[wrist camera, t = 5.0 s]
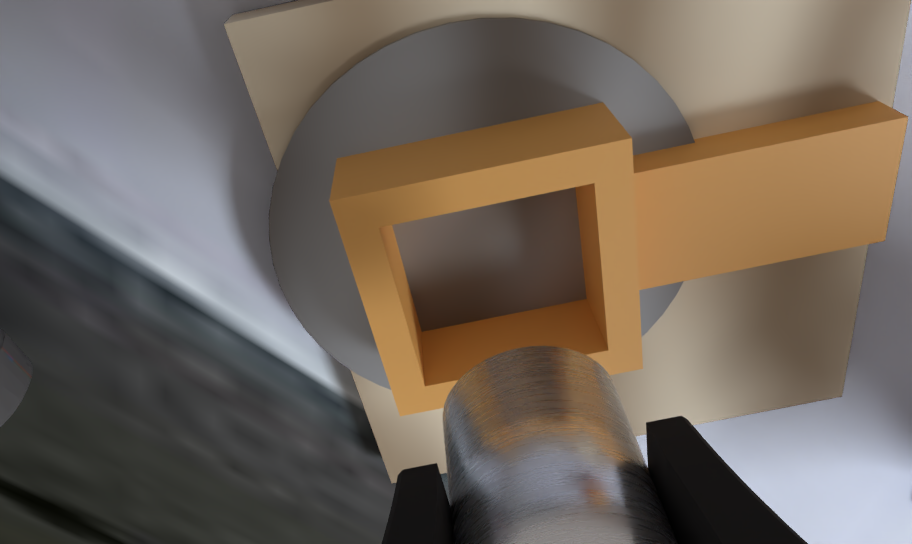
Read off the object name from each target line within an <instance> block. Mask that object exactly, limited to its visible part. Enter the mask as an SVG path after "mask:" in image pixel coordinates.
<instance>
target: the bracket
mask: <svg viewBox="0 0 912 544" xmlns="http://www.w3.org/2000/svg"><path fill="white" fill-rule="evenodd" d="M907 121H908V116H906V115H904V114H902V113H900V112H898V111H896V110H895V109H893V108H891V107H889V106H887V105H885V104H883V103H881V102H880V101H876V102H871V103H867V104H862V105H857V106H852V107H847V108H843V109H838V110H833V111H828V112H823V113H818V114H814V115H809V116H804V117H799V118H794V119H790V120H785V121H780V122H775V123H770V124H766V125H761V126H756V127H751V128H746V129H741V130H737V131H732V132H727V133H722V134H717V135H713V136H708V137H703V138H698V139H694V141H695V143H691V144H686V145H681V146H676V147H671V148H667V149H662V150H657V151H652V152H647V153H643V154H638V155H633V146H632V137H631V136H630V135H629V134H628V132H627V131H626V130H625V129H624V127H623V126H622V125H621V124H620V122H619V121H618V120H617V119H616V117H615V116H614V115H613V114H612V113H611V111H610V110H609V109H608V108H607V106H606V105H605V104H604V103H603V102H602V103H597V104H593V105H588V106H583V107H578V108H574V109H569V110H564V111H559V112H555V113H550V114H545V115H540V116H536V117H531V118H526V119H521V120H517V121H512V122H507V123H502V124H498V125H493V126H488V127H483V128H479V129H474V130H469V131H464V132H460V133H455V134H450V135H445V136H441V137H436V138H431V139H426V140H422V141H417V142H412V143H407V144H403V145H398V146H393V147H388V148H384V149H379V150H374V151H369V152H365V153H360V154H355V155H350V156H346V157H341V158H337V160H336V166H335V171H334V177H333V183H332V188H331V194H330V200H329V202H330V205H331V208H332V211H333V214H334V217H335V220H336V223H337V226H338V229H339V232H340V235H341V238H342V242H343V245H344V248H345V251H346V254H347V257H348V260H349V263H350V266H351V269H352V272H353V275H354V278H355V281H356V284H357V287H358V290H359V293H360V296H361V299H362V302H363V305H364V308H365V311H366V314H367V318H368V321H369V324H370V327H371V330H372V333H373V336H374V339H375V342H376V345H377V348H378V351H379V354H380V357H381V360H382V363H383V366H384V369H385V372H386V375H387V378H388V381H389V384H390V387H391V390H392V394H393V397H394V400H395V403H396V406H397V409H398V412H399V415H400V416H405V415H410V414H415V413H420V412H425V411H430V410H436V409H441V408H444V404H445V401H446V399H447V396H448V395H449V393H450V391H451V389H452V388H453V386H454V385H455V384H456V383H457V381H458V380H459V379H460V378H461V377H462V376H463V375H464V374H465V373H466V372H468V371H469V370H470V369H472V368H473V367H474V366H476V365H477V364H479V363H481V362H482V361H484V360H486V359H488V358H490V357H492V356H494V355H497V354H500V353H502V352H505V351H508V350H513V349H517V348H522V347H529V346H557V347H562V348H568V349H571V350H574V351H578V352H580V353H582V354H585V355H587V356H589V357H590V358H592V359H594V360H595V361H597V362H598V363H599V364H600V365H601V366H603V367H604V369H605V370H606V371H607V372H608V373H609V375H614V374H619V373H624V372H629V371H634V370H639V369H643V358H642V337H641V316H640V295H639V290H642V289H647V288H652V287H657V286H662V285H667V284H672V283H677V282H682V281H687V280H692V279H697V278H702V277H707V276H712V275H717V274H722V273H727V272H732V271H737V270H742V269H747V268H752V267H757V266H762V265H767V264H772V263H777V262H782V261H787V260H792V259H797V258H802V257H807V256H812V255H817V254H822V253H827V252H832V251H837V250H842V249H847V248H852V247H857V246H862V245H867V244H872V243H877V242H882V241H885V237H886V232H887V227H888V222H889V216H890V211H891V206H892V200H893V195H894V190H895V185H896V179H897V174H898V169H899V164H900V158H901V153H902V148H903V143H904V137H905V132H906V127H907ZM574 187H575V189H576V199H577V209H578V219H579V229H580V238H581V248H582V258H583V268H584V278H585V288H586V298H587V299H583V300H578V301H573V302H568V303H563V304H558V305H553V306H548V307H543V308H539V309H534V310H529V311H524V312H519V313H514V314H509V315H504V316H499V317H494V318H489V319H484V320H479V321H474V322H469V323H464V324H459V325H454V326H449V327H444V328H439V329H434V330H429V331H424V332H422V331H421V328H420V324H419V320H418V317H417V313H416V309H415V306H414V302H413V299H412V295H411V291H410V288H409V284H408V281H407V277H406V273H405V270H404V266H403V263H402V259H401V255H400V252H399V248H398V245H397V241H396V237H395V234H394V230H393V226H392V225H394V224H399V223H404V222H409V221H414V220H419V219H423V218H428V217H433V216H438V215H443V214H448V213H453V212H457V211H462V210H467V209H472V208H477V207H482V206H486V205H491V204H496V203H501V202H506V201H511V200H515V199H520V198H525V197H530V196H535V195H540V194H545V193H549V192H554V191H559V190H564V189H569V188H574Z"/></svg>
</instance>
